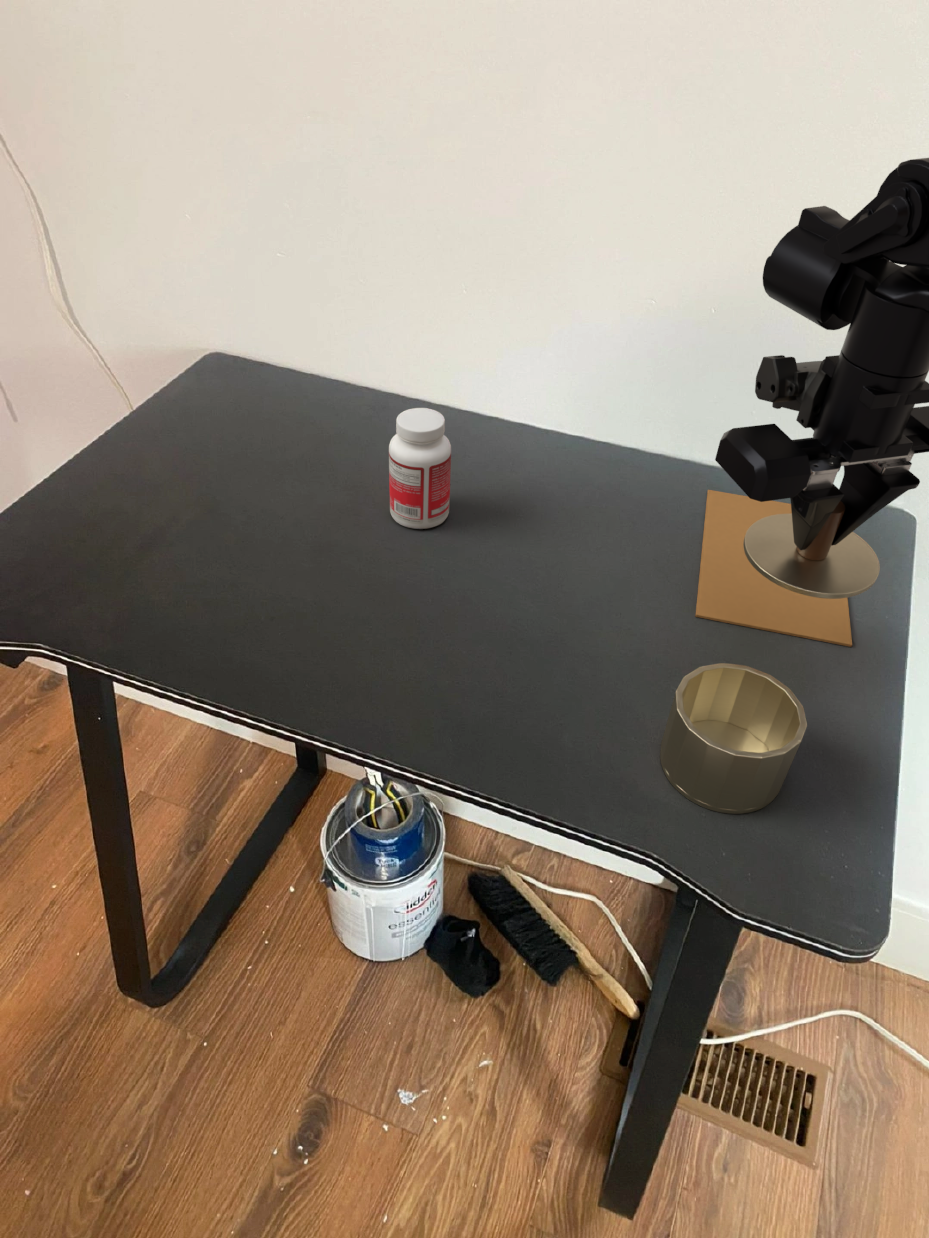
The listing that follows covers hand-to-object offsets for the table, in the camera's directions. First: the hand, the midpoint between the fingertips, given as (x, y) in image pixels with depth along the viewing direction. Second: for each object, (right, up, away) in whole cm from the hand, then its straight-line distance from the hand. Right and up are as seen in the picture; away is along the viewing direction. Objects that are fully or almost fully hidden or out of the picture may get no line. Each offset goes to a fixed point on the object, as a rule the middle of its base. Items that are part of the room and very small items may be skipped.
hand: (814, 544), depth 72 cm
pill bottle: (-32, +5, +24) cm, 40 cm away
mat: (+3, 0, +20) cm, 20 cm away
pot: (-8, -17, 0) cm, 19 cm away
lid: (0, -1, +1) cm, 1 cm away
